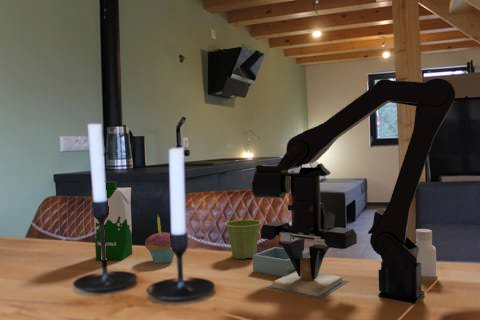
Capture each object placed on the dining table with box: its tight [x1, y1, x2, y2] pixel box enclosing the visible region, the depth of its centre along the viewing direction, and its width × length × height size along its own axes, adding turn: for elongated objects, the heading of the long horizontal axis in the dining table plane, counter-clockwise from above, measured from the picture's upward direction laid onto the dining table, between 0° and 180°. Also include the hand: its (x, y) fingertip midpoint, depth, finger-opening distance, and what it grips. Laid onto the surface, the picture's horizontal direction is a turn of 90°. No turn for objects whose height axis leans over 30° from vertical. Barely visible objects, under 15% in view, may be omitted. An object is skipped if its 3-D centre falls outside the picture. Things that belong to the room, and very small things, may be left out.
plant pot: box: [224, 219, 262, 260], centre depth 111 cm, size 9×9×9 cm
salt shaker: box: [415, 228, 437, 278], centre depth 91 cm, size 4×4×10 cm
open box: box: [252, 246, 310, 278], centre depth 98 cm, size 9×9×4 cm
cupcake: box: [144, 214, 175, 264], centre depth 110 cm, size 9×8×12 cm
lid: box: [272, 257, 343, 296], centre depth 87 cm, size 10×10×5 cm
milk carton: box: [91, 180, 133, 261], centre depth 115 cm, size 9×9×20 cm
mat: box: [265, 279, 350, 300], centre depth 87 cm, size 12×12×1 cm
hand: (307, 277), depth 87 cm, fingers closed on lid, 3 cm apart
